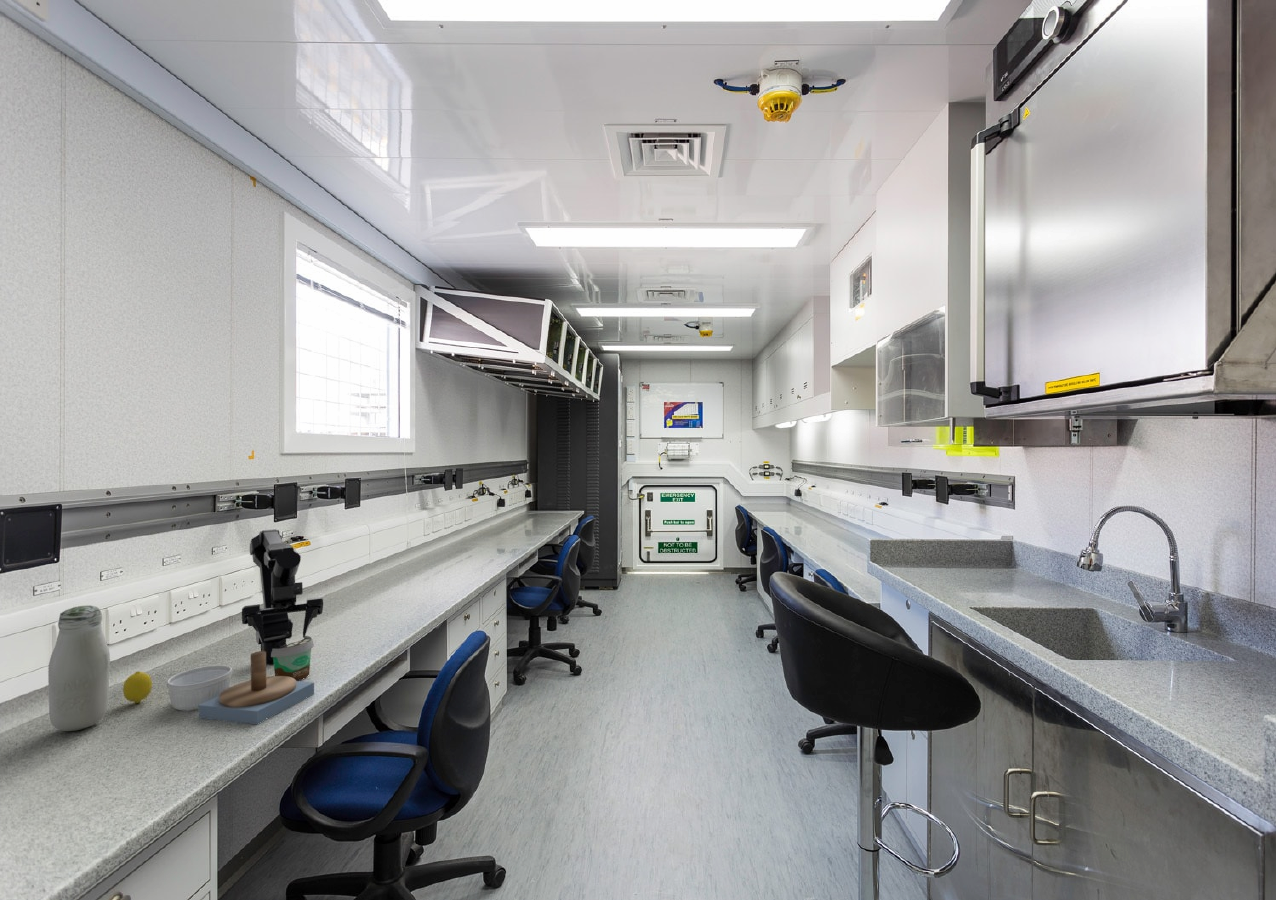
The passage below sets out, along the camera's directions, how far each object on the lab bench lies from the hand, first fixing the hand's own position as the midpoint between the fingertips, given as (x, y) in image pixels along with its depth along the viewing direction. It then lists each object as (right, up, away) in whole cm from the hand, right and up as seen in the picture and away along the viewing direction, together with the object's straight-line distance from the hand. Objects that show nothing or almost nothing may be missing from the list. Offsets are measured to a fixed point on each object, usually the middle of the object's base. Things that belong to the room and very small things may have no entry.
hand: (283, 640), depth 152 cm
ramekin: (-18, -14, -6) cm, 23 cm away
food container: (-1, -14, +8) cm, 16 cm away
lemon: (-33, -14, -6) cm, 37 cm away
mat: (-1, -13, -9) cm, 16 cm away
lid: (-1, -10, -9) cm, 14 cm away
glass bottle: (-35, -14, -19) cm, 42 cm away
